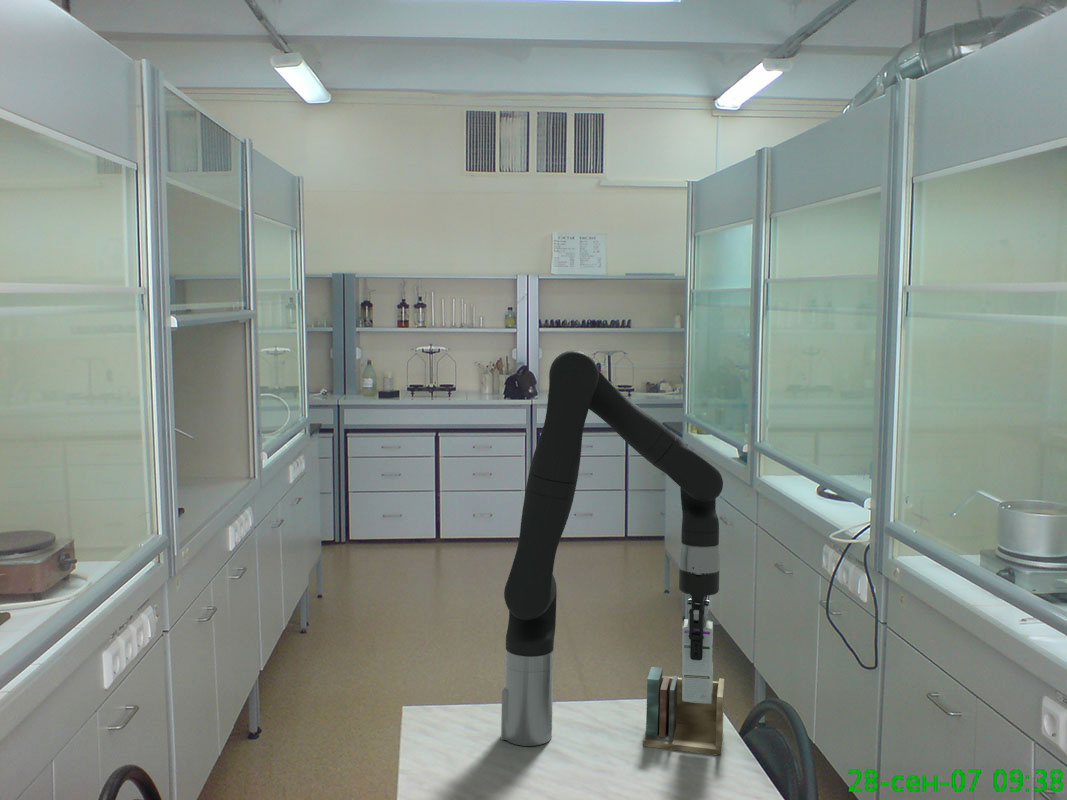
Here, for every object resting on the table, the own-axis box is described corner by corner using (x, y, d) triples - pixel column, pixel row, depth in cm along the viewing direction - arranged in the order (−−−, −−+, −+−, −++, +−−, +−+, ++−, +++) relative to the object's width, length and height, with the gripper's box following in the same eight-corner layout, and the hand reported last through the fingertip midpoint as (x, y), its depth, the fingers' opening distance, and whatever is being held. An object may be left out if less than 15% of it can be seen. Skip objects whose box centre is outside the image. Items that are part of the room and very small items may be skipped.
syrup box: (712, 704, 170) (714, 628, 170) (680, 701, 172) (682, 626, 171) (712, 693, 176) (714, 619, 175) (681, 691, 177) (683, 617, 177)
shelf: (642, 746, 172) (644, 682, 172) (649, 723, 183) (651, 663, 182) (720, 755, 169) (722, 690, 168) (722, 731, 179) (724, 670, 179)
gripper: (682, 557, 180) (680, 641, 181) (676, 574, 166) (674, 664, 167) (720, 560, 179) (718, 644, 179) (717, 577, 165) (715, 668, 166)
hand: (697, 653), depth 173 cm, fingers closed on syrup box, 5 cm apart
